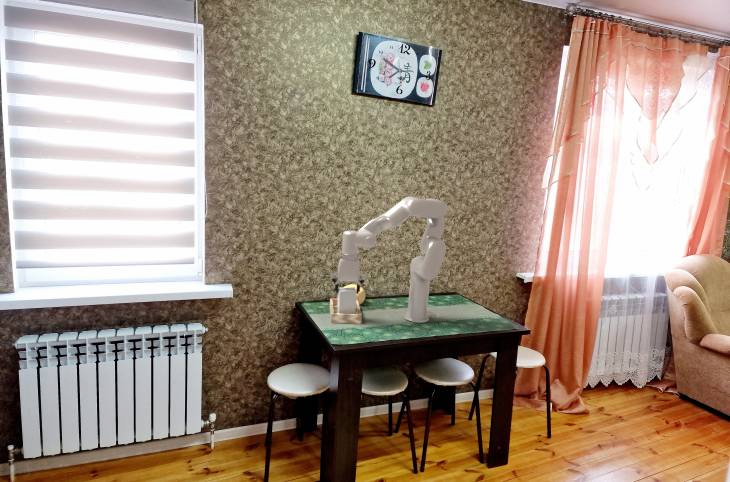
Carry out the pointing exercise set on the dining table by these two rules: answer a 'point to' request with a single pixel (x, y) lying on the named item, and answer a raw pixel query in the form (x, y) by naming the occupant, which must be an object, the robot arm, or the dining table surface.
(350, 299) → the skincare box
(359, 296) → the sculpture
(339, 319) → the crate
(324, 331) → the dining table surface
